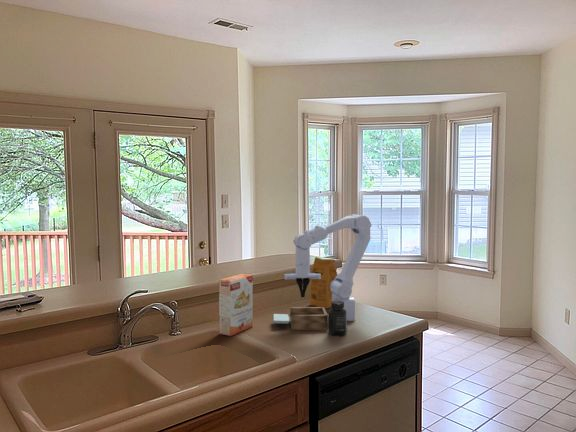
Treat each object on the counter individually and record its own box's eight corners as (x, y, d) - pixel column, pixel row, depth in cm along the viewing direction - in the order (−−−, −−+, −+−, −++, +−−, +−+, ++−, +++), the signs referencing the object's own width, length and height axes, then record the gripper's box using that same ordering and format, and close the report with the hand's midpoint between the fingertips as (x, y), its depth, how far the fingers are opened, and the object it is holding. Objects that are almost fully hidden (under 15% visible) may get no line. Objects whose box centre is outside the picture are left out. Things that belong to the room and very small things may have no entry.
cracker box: (231, 337, 176) (230, 281, 175) (218, 334, 180) (217, 279, 178) (253, 327, 188) (253, 274, 187) (241, 324, 192) (241, 272, 190)
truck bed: (324, 320, 197) (324, 307, 197) (327, 329, 185) (327, 315, 185) (290, 320, 197) (290, 307, 196) (291, 329, 185) (291, 315, 184)
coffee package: (320, 301, 228) (320, 255, 226) (340, 306, 219) (340, 258, 217) (305, 305, 221) (305, 257, 219) (326, 310, 212) (326, 261, 210)
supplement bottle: (348, 332, 182) (349, 301, 181) (343, 337, 176) (343, 305, 175) (331, 329, 185) (331, 299, 184) (325, 335, 178) (325, 303, 177)
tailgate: (289, 314, 195) (273, 313, 195) (290, 321, 186) (273, 320, 186) (289, 316, 195) (273, 316, 195) (290, 323, 186) (273, 322, 186)
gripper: (284, 265, 189) (285, 299, 190) (321, 265, 189) (321, 298, 190) (284, 262, 196) (284, 295, 197) (319, 262, 196) (319, 294, 197)
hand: (302, 296), depth 194 cm, fingers closed
